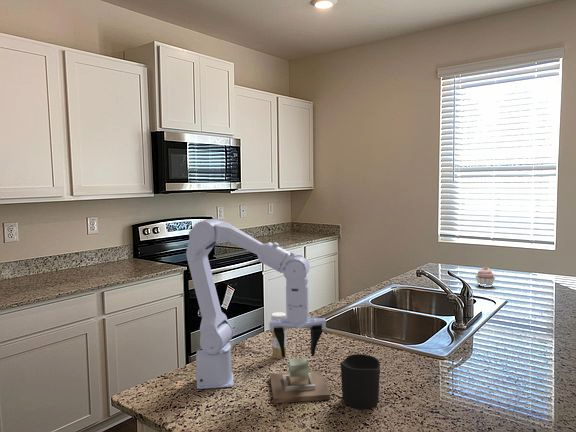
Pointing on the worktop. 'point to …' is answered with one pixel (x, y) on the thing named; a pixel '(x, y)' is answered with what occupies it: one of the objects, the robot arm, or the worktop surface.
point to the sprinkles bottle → (274, 340)
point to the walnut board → (299, 388)
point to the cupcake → (485, 276)
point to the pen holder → (360, 381)
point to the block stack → (298, 371)
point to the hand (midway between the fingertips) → (297, 355)
